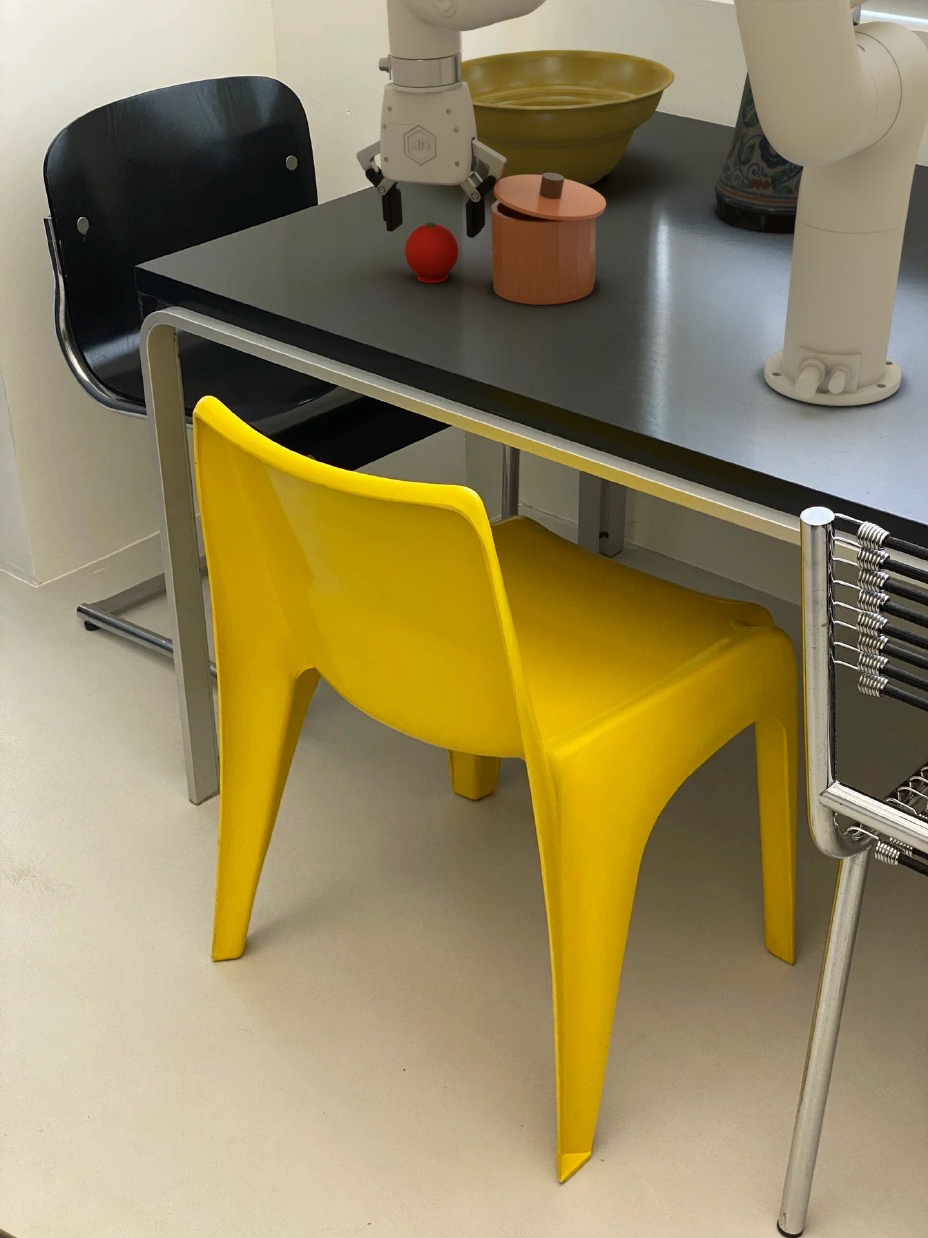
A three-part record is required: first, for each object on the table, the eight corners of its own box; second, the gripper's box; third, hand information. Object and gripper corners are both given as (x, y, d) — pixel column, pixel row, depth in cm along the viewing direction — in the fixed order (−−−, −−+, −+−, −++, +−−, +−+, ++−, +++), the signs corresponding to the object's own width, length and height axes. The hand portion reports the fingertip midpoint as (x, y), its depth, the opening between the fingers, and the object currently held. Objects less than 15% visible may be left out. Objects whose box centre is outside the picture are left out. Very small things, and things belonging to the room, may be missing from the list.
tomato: (448, 289, 159) (446, 233, 155) (398, 284, 160) (395, 229, 157) (466, 271, 163) (464, 217, 160) (418, 266, 165) (415, 213, 162)
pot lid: (588, 235, 147) (594, 206, 145) (478, 208, 149) (481, 179, 148) (615, 200, 157) (621, 172, 155) (511, 175, 159) (515, 148, 157)
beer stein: (729, 189, 187) (743, -17, 173) (880, 201, 181) (907, -11, 167) (699, 227, 174) (713, 8, 160) (861, 241, 168) (889, 15, 154)
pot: (577, 308, 152) (578, 226, 147) (479, 299, 156) (477, 217, 151) (605, 274, 161) (607, 195, 156) (512, 265, 164) (511, 187, 159)
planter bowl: (568, 229, 175) (569, 116, 168) (384, 184, 194) (378, 81, 186) (716, 170, 194) (723, 67, 187) (536, 134, 213) (536, 40, 206)
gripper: (337, 75, 150) (350, 235, 159) (491, 81, 144) (496, 247, 154) (365, 60, 156) (376, 215, 165) (515, 66, 150) (518, 226, 160)
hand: (434, 230), depth 159 cm, fingers open, 9 cm apart
